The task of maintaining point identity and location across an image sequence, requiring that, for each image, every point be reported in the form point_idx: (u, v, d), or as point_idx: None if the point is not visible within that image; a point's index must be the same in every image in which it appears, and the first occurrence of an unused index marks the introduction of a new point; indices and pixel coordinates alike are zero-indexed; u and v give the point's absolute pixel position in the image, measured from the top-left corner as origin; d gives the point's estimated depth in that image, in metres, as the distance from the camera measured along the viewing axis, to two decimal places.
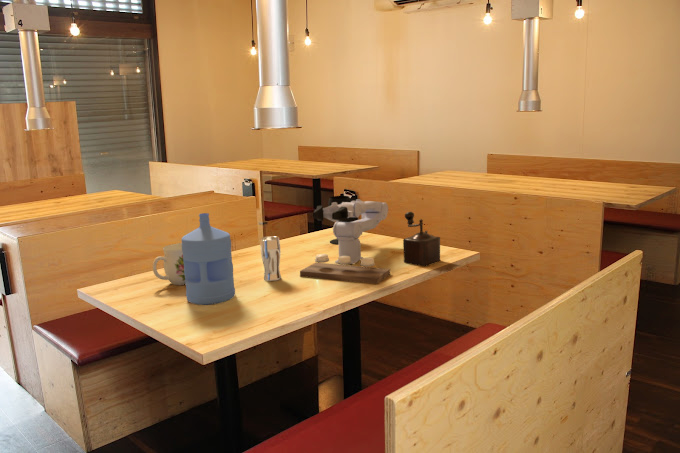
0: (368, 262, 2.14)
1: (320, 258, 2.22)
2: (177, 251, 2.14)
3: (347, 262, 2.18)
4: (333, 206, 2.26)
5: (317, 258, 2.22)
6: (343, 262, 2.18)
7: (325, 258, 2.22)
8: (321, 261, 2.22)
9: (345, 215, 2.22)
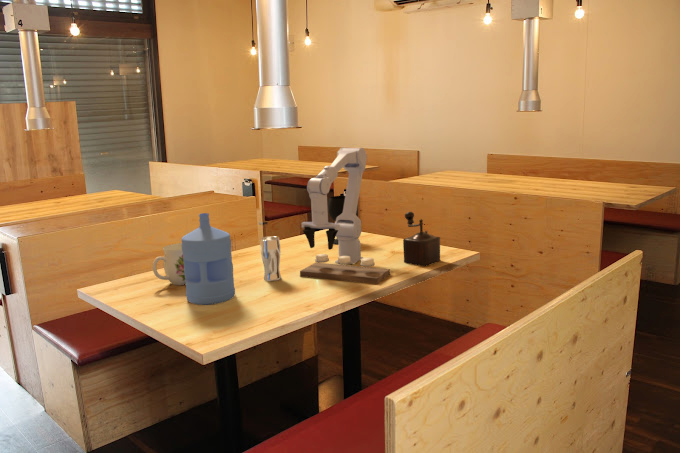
0: (368, 262, 2.14)
1: (320, 258, 2.22)
2: (177, 251, 2.14)
3: (347, 262, 2.18)
4: None
5: (317, 258, 2.22)
6: (343, 262, 2.18)
7: (325, 258, 2.22)
8: (321, 261, 2.22)
9: None
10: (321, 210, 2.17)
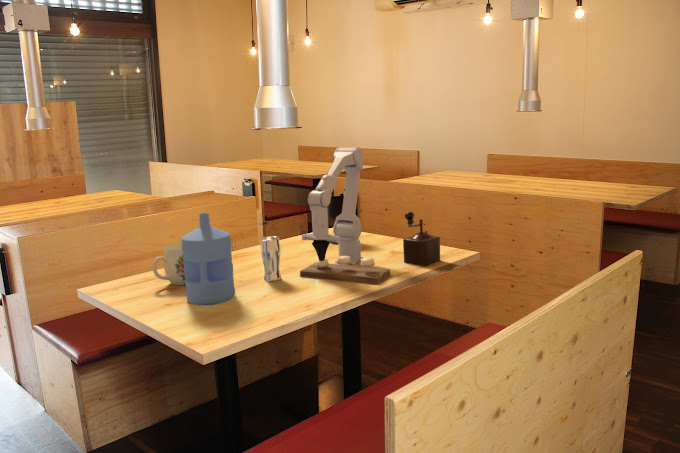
0: (368, 262, 2.14)
1: (320, 263, 2.22)
2: (177, 251, 2.14)
3: (347, 262, 2.18)
4: None
5: (317, 263, 2.23)
6: (343, 262, 2.18)
7: (325, 263, 2.22)
8: (321, 266, 2.22)
9: None
10: (322, 223, 2.18)
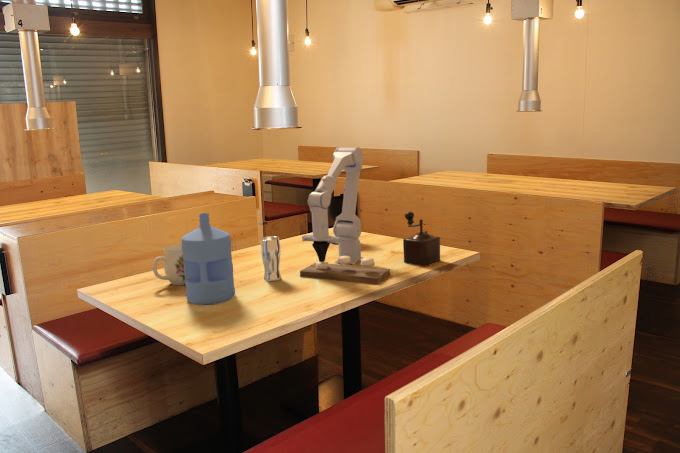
0: (368, 262, 2.14)
1: (320, 265, 2.22)
2: (177, 251, 2.14)
3: (347, 262, 2.18)
4: None
5: (317, 265, 2.23)
6: (343, 262, 2.18)
7: (325, 265, 2.23)
8: (321, 268, 2.22)
9: None
10: (322, 224, 2.18)
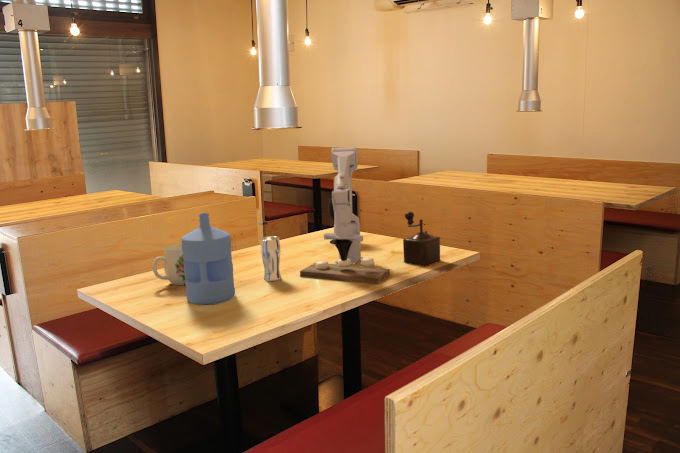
0: (368, 262, 2.14)
1: (320, 265, 2.22)
2: (177, 251, 2.14)
3: (347, 265, 2.18)
4: None
5: (317, 265, 2.23)
6: (343, 265, 2.18)
7: (325, 265, 2.23)
8: (321, 268, 2.22)
9: None
10: (348, 221, 2.15)
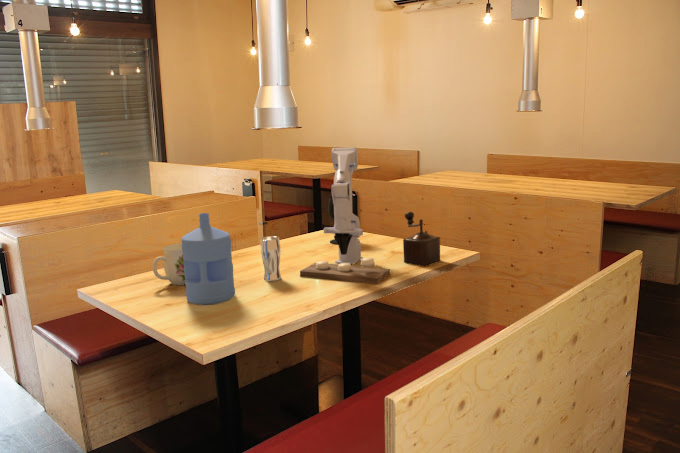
0: (368, 262, 2.14)
1: (320, 265, 2.22)
2: (177, 251, 2.14)
3: (347, 269, 2.19)
4: None
5: (317, 265, 2.23)
6: (343, 269, 2.18)
7: (325, 265, 2.23)
8: (321, 268, 2.22)
9: None
10: (348, 215, 2.14)
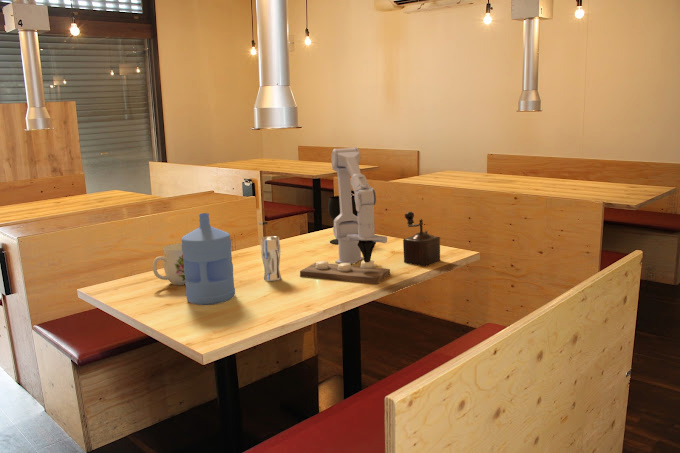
0: (368, 264, 2.14)
1: (320, 265, 2.22)
2: (177, 251, 2.14)
3: (347, 269, 2.19)
4: None
5: (317, 265, 2.23)
6: (343, 269, 2.18)
7: (325, 265, 2.23)
8: (321, 268, 2.22)
9: None
10: (373, 221, 2.12)
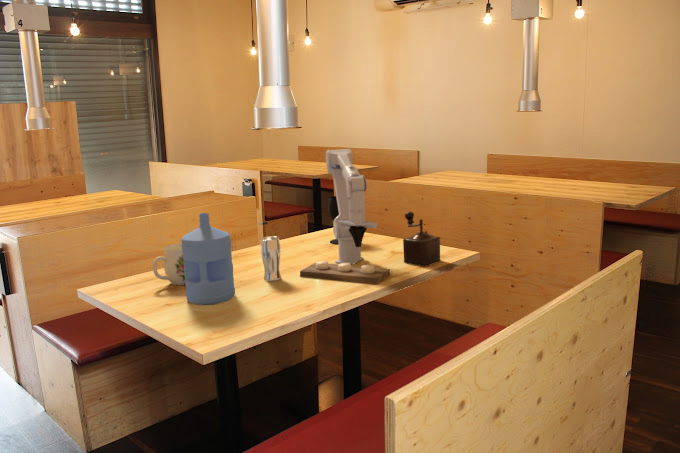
0: (368, 269, 2.14)
1: (320, 265, 2.22)
2: (177, 251, 2.14)
3: (347, 269, 2.19)
4: None
5: (317, 265, 2.23)
6: (343, 269, 2.18)
7: (325, 265, 2.23)
8: (321, 268, 2.22)
9: None
10: (364, 207, 2.19)
